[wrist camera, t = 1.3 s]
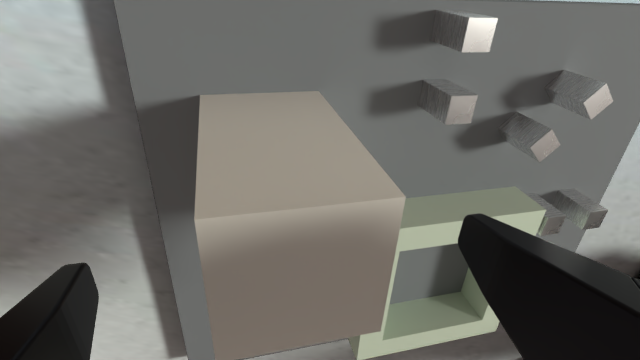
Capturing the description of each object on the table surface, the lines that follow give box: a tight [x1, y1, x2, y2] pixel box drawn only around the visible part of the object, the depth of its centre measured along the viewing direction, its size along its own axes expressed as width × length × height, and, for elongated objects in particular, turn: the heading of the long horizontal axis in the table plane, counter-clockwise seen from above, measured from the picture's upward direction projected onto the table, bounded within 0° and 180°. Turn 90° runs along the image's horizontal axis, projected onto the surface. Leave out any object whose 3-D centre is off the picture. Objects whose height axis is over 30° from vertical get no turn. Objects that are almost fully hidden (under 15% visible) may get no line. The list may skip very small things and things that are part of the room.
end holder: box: [348, 187, 546, 360], centre depth 18 cm, size 8×8×2 cm
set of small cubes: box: [418, 10, 613, 236], centre depth 16 cm, size 10×9×2 cm
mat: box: [114, 0, 640, 360], centre depth 18 cm, size 22×17×1 cm
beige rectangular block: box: [194, 91, 406, 360], centre depth 11 cm, size 4×4×7 cm
